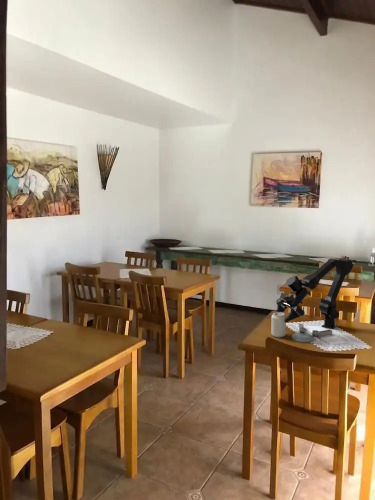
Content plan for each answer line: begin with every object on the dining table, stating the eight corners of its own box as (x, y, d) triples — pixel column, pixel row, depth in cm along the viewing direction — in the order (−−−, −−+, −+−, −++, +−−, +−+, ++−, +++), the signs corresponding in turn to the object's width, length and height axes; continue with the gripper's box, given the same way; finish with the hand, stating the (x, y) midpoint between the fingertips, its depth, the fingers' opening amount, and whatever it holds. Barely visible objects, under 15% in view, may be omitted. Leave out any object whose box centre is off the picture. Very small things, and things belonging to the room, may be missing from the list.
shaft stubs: (299, 326, 228) (299, 321, 228) (333, 334, 216) (333, 328, 215) (290, 331, 221) (290, 326, 220) (324, 339, 208) (324, 334, 208)
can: (275, 332, 221) (275, 310, 219) (288, 334, 216) (288, 313, 214) (268, 335, 215) (268, 313, 213) (281, 339, 211) (282, 316, 209)
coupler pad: (298, 333, 218) (298, 331, 218) (317, 337, 211) (317, 335, 211) (288, 338, 210) (288, 337, 210) (308, 344, 203) (308, 342, 203)
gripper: (279, 283, 223) (261, 305, 221) (300, 291, 206) (281, 315, 203) (290, 296, 227) (273, 318, 225) (312, 304, 210) (294, 328, 207)
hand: (280, 319), depth 215 cm, fingers open, 9 cm apart
